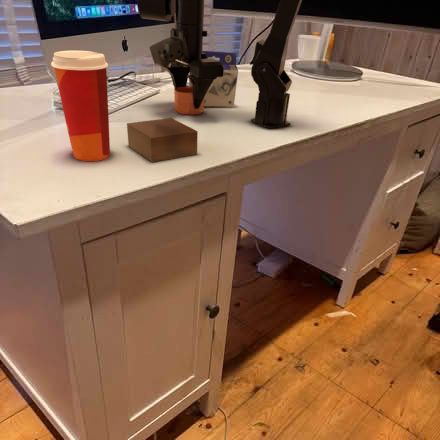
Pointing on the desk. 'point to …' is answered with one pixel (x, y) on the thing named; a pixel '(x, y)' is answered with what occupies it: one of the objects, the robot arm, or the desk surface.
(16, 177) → the desk surface
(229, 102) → the ink box
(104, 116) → the coffee cup
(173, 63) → the robot arm
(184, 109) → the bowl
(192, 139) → the stand
